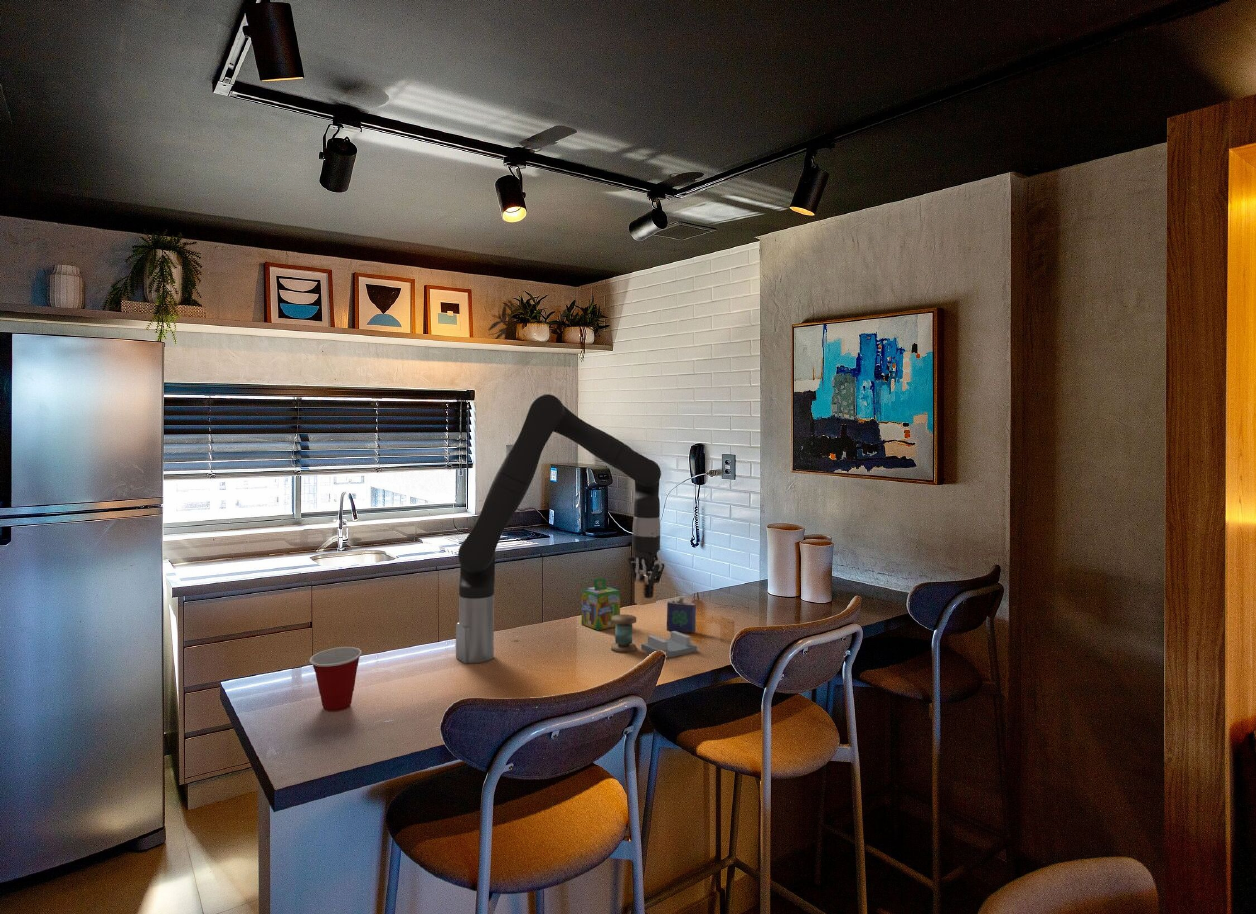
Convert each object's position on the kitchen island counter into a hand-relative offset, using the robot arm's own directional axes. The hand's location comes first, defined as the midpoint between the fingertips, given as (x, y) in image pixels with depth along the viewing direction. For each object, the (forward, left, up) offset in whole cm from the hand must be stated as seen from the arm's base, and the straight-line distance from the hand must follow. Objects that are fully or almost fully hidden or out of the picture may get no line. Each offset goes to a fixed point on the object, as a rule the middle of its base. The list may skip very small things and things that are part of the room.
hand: (645, 596), depth 201 cm
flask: (+25, +14, -17) cm, 33 cm away
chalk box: (+8, +33, -17) cm, 38 cm away
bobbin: (0, +9, -17) cm, 19 cm away
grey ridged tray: (+10, +1, -17) cm, 20 cm away
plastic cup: (-78, +9, -17) cm, 81 cm away
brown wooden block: (0, 0, -2) cm, 2 cm away
